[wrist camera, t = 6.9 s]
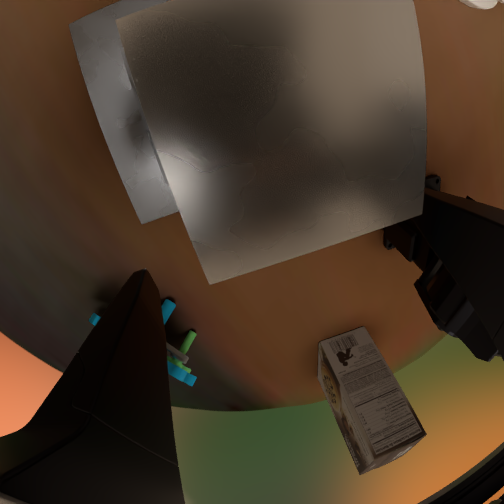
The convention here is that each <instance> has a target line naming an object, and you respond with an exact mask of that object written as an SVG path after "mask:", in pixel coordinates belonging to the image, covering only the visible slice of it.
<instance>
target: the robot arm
mask: <svg viewBox="0 0 504 504" xmlns="http://www.w3.org/2000/svg"><path fill="white" fill-rule="evenodd" d="M440 183H441V178H440V177H439V176H438V175H432V176H428V177H425V188H424V200H423V210H422V214H421V215H418V216H415V217H413V218H410V219H407V220H404V221H401V222H398V223H395V224H393V225H390V226H387V227H385V231H384V236H385V237H384V246H385V248H386V249H388V250H390V249H392V248H396V249H397V250H398V251H399V252H400V253H401V254H402V255H403V256H404V257H405V258H406V259H407V260H408V261H409V262H412V261H413V262H414V263H415V264H416V265H417V266H418V267H419V268H420V269H421V270H422V271H423V273H422V275H421V276H420V278H419V279H417V280H416V282H415V283H414V286H415V288H416V290H417V291H418V294H419V296H420V298H421V300H422V301H423V303H424V305H425V307H426V309H427V311H428V313H429V314H430V316H431V318H432V320H433V322H434V323H435V324H436V325H437V328H438V329H439V330H441V331H445V332H446V333H447V334H449V335H451V336H453V337H456V338H459V339H460V340H462V342H463V343H464V344H465V345H466V346H467V347H468V348H469V349H470V351H471V352H472V353H473V354H474V355H475V357H476V358H478V359H481V360H484V361H487V362H488V361H491V359H493V358H494V356H500V357H502V359H503V361H504V210H502V209H499V208H496V207H493V206H490V205H486V204H483V203H480V202H476V201H475V200H473V199H472V198H470V197H469V196H467V197H466V198H462V197H458V196H455V195H451V194H447V193H443V192H440ZM503 486H504V442H503V443H502V444H501V445H500V446H499V447H497V448H496V449H495V450H494V451H493V452H492V453H490V454H489V455H488V456H487V457H486V458H485V459H483V460H482V461H481V462H479V463H478V464H477V465H475V466H474V467H473V468H471V469H470V470H469V471H467V472H466V473H465V474H463V475H462V476H460V477H459V478H458V479H456V480H455V481H453V482H452V483H450V484H449V485H447V486H446V487H444V488H443V489H441V490H440V491H438V492H436V493H435V494H433V495H431V496H430V497H428V498H427V499H425V500H423V501H421V502H420V503H418V504H483V503H484V502H485V501H487V500H488V499H489V498H490V497H492V496H493V495H494V494H495V493H496V492H497V491H499V490H500V489H501V488H502V487H503ZM0 504H185V501H184V495H183V490H182V484H181V478H180V472H179V467H178V460H177V453H176V446H175V438H174V430H173V421H172V411H171V401H170V390H169V377H168V363H167V345H166V334H165V327H164V321H163V314H162V308H161V301H160V294H159V291H158V288H157V286H156V284H155V282H154V281H153V279H152V277H151V275H150V273H149V272H148V270H146V269H142V270H139V271H136V272H134V273H133V274H132V275H131V277H130V278H129V279H128V281H127V282H126V283H125V285H124V286H123V287H122V289H121V290H120V291H119V293H118V294H117V296H116V297H115V298H114V300H113V301H112V302H111V304H110V305H109V307H108V308H107V309H106V311H105V312H104V314H103V315H102V316H101V318H100V319H99V321H98V322H97V324H96V325H95V327H94V328H93V329H92V331H91V332H90V334H89V335H88V337H87V338H86V340H85V341H84V343H83V344H82V346H81V347H80V349H79V350H78V353H76V355H75V356H74V358H73V360H72V361H71V363H70V364H69V366H68V367H67V369H66V370H65V372H64V373H63V375H62V376H61V378H60V379H59V381H58V382H57V383H56V385H55V386H54V388H53V389H52V390H51V392H50V393H49V395H48V396H47V397H46V399H45V400H44V402H43V403H42V405H41V406H40V407H39V409H38V410H37V412H36V413H35V415H34V416H33V418H32V419H31V420H30V421H29V422H28V424H26V425H25V426H24V427H23V428H21V429H20V430H18V431H16V432H14V433H11V434H8V435H5V436H2V437H0ZM489 504H504V494H503V495H502V496H501V497H500V498H499V499H497V500H494V501H491V502H490V503H489Z"/></svg>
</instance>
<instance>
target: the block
mask: <svg viewBox="0 0 504 504" xmlns="http://www.w3.org/2000/svg"><path fill="white" fill-rule="evenodd" d="M115 21H116V24H117V28H118V32H119V35H120V39H121V42H122V46H123V49H124V52H125V56H126V59H127V63H128V66H129V69H130V72H131V76H132V79H133V82H134V85H135V88H136V91H137V94H138V98H139V101H140V104H141V107H142V110H143V113H144V116H145V119H146V122H147V124H148V127H149V130H150V133H151V136H152V139H153V142H154V145H155V147H156V150H157V153H158V156H159V158H160V161H161V164H162V167H163V169H164V172H165V175H166V178H167V180H168V183H169V186H170V188H171V191H172V193H173V196H174V199H175V201H176V204H177V206H178V209H179V212H180V214H181V217H182V219H183V222H184V224H185V227H186V229H187V232H188V234H189V237H190V239H191V242H192V244H193V246H194V249H195V251H196V254H197V256H198V258H199V261H200V263H201V266H202V268H203V270H204V273H205V275H206V277H207V280H208V282H209V284H210V285H211V284H214V283H217V282H220V281H223V280H227V279H230V278H233V277H236V276H239V275H242V274H246V273H249V272H252V271H255V270H258V269H261V268H264V267H267V266H270V265H273V264H277V263H280V262H283V261H286V260H289V259H292V258H295V257H298V256H301V255H304V254H307V253H310V252H313V251H316V250H319V249H322V248H325V247H328V246H331V245H334V244H337V243H340V242H343V241H346V240H349V239H352V238H355V237H358V236H361V235H364V234H366V233H369V232H372V231H375V230H378V229H381V228H384V227H387V226H390V225H393V224H395V223H398V222H401V221H404V220H407V219H410V218H413V217H415V216H418V215H421V214H422V210H423V200H424V188H425V173H426V149H427V115H426V92H425V77H424V66H423V57H422V49H421V42H420V35H419V29H418V23H417V17H416V12H415V7H414V2H413V0H172V1H168V2H165V3H161V4H158V5H155V6H152V7H149V8H146V9H143V10H140V11H137V12H135V13H132V14H129V15H127V16H124V17H122V18H119V19H117V20H115Z"/></svg>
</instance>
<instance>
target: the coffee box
mask: <svg viewBox="0 0 504 504" xmlns="http://www.w3.org/2000/svg"><path fill="white" fill-rule="evenodd" d="M318 380H319V382H320V384H321V387H322V389H323V391H324V393H325V396H326V398H327V400H328V403H329V405H330V407H331V409H332V412H333V414H334V416H335V419H336V421H337V424H338V426H339V428H340V430H341V433H342V435H343V437H344V440H345V442H346V444H347V447H348V449H349V451H350V454H351V456H352V458H353V461H354V463H355V465H356V467H357V470H358V472H359V475H361V474H364V473H366V472H368V471H370V470H372V469H375V468H378V467H381V466H383V465H386V464H388V463H390V462H392V461H394V460H396V459H397V458H399V457H401V456H402V455H404V454H405V453H406V452H408V451H409V450H410V449H411V448H412V447H413V446H415V445H416V444H417V443H418V442H419V441H420V440H421V439H422V438H424V436H426V435H427V434H426V432H425V431H424V429H423V427H422V425H421V423H420V421H419V419H418V418H417V416H416V414H415V412H414V410H413V408H412V407H411V405H410V403H409V401H408V399H407V398H406V396H405V394H404V392H403V391H402V389H401V387H400V386H399V384H398V382H397V380H396V378H395V377H394V375H393V373H392V371H391V370H390V368H389V366H388V365H387V363H386V361H385V360H384V358H383V356H382V354H381V353H380V351H379V349H378V348H377V346H376V344H375V343H374V341H373V340H372V338H371V336H370V335H369V333H368V332H367V330H366V328H365V327H364V326H363V327H360V328H357V329H355V330H352V331H349V332H347V333H344V334H341V335H338V336H335V337H332V338H329V339H326V340H323V341H321V342H319V353H318Z"/></svg>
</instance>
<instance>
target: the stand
mask: <svg viewBox="0 0 504 504" xmlns="http://www.w3.org/2000/svg"><path fill="white" fill-rule="evenodd" d="M168 1H172V0H121V1H119V2H116V3H114V4H111V5H109V6H106V7H104V8H102V9H100V10H97V11H95V12H93V13H91V14H89V15H87V16H84V17H82V18H80V19H78V20H76V21H75V22H73V23H71V24H69V28H70V32H71V36H72V40H73V43H74V47H75V50H76V54H77V57H78V61H79V64H80V67H81V71H82V74H83V77H84V80H85V83H86V86H87V89H88V92H89V95H90V98H91V101H92V104H93V107H94V110H95V113H96V115H97V118H98V121H99V124H100V126H101V129H102V132H103V134H104V137H105V140H106V142H107V145H108V147H109V150H110V152H111V155H112V157H113V160H114V162H115V165H116V167H117V170H118V172H119V174H120V177H121V179H122V181H123V184H124V186H125V188H126V191H127V193H128V195H129V197H130V200H131V202H132V204H133V206H134V209H135V211H136V213H137V215H138V217H139V219H140V222H141V224H144V223H147V222H150V221H152V220H155V219H158V218H161V217H164V216H167V215H170V214H172V213H175V212H178V211H179V209H178V206H177V204H176V201H175V199H174V196H173V193H172V191H171V188H170V186H169V183H168V180H167V178H166V175H165V172H164V169H163V167H162V164H161V161H160V158H159V156H158V153H157V150H156V147H155V145H154V142H153V139H152V136H151V133H150V130H149V127H148V124H147V122H146V119H145V116H144V113H143V110H142V107H141V104H140V101H139V98H138V94H137V91H136V88H135V85H134V82H133V79H132V76H131V72H130V69H129V66H128V63H127V59H126V56H125V52H124V49H123V46H122V42H121V39H120V35H119V32H118V28H117V24H116V21H115V20H117V19H119V18H122V17H124V16H127V15H129V14H132V13H135V12H137V11H140V10H143V9H146V8H149V7H152V6H155V5H158V4H161V3H165V2H168Z"/></svg>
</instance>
